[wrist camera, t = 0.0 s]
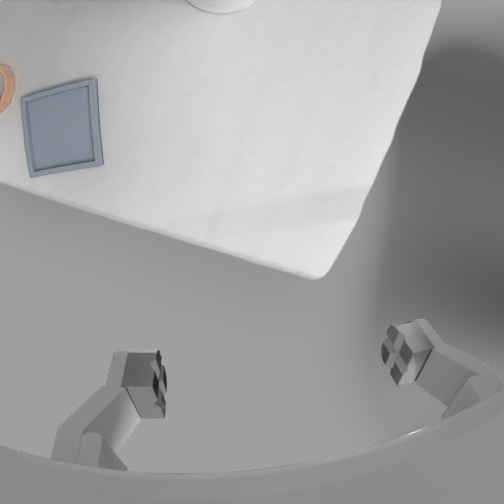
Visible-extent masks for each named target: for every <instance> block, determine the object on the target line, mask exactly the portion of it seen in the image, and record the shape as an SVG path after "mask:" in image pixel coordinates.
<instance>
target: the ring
mask: <svg viewBox="0 0 504 504" xmlns="http://www.w3.org/2000/svg"><path fill="white" fill-rule="evenodd" d="M0 73H1V74H2V76H3V78H4V91H3V94H2V97H1V100H0V113H2V112H3V111H4V110H5V108H6V107H7V106H8V105H9V104H10V102H11V99H12V96H13V93H14V91H15V76H14V74H13V72H12V70H11V69H10V67H9V66H6V65H2V64H0Z"/></svg>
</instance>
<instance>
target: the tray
mask: <svg viewBox="0 0 504 504" xmlns="http://www.w3.org/2000/svg"><path fill="white" fill-rule="evenodd" d="M21 107H22V119H23V130H24V139H25V147H26V154H27V160H28V167H29V173H30V178H32V177H37V176H43V175H48V174H53V173H59V172H65V171H71V170H77V169H83V168H90V167H97V166H101V165H103V164H104V161H103V152H102V143H101V133H100V121H99V106H98V86H97V79H90V80H85V81H81V82H77V83H73V84H69V85H65V86H61V87H57V88H53V89H50V90H46V91H43V92H40V93H36V94H33V95H30V96H27V97H24V98H21Z"/></svg>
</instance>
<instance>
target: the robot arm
mask: <svg viewBox="0 0 504 504" xmlns="http://www.w3.org/2000/svg"><path fill="white" fill-rule="evenodd" d="M187 1H188V2H189V3H190V4H192V5H193V6H195V7H196V8H198V9H200V10H203V11H206V12H210V13H231V12H236V11H239V10H241V9H244V8H246V7H248V6H249V5H251V4H252V3H253V2H254V1H256V0H187ZM387 335H388V338H387V339H386V340H385V341H384V342H383V344H382V347H381V356H382V359H383V361H384V363H385V365H386V366H388V367H389V368H391V373H390V374H391V376H392V378H393V380H394V382H395V383H396V385H397V386H400V385H404V384H408V383H411V382H415V381H416V382H415V383H416V384H418V385H419V386H420V387H422V388H423V389H424V390H426V391H427V392H428V393H430V394H431V395H433V396H434V397H435V398H436V399H438V400H439V401H441V402H442V403H443V404H445V405H446V406H447V407H448V408H447V409H446V411H445V412H444V413H443V415H442V421H439V422H437V423H435V424H432V425H430V426H428V427H425V428H422V429H420V430H417V431H415V432H412V433H409V434H407V435H404V436H401V437H398V438H395V439H392V440H389V441H386V442H383V443H380V444H377V445H373V446H370V447H366V448H363V449H359V450H355V451H352V452H348V453H344V454H340V455H336V456H332V457H327V458H323V459H318V460H313V461H308V462H302V463H297V464H291V465H285V466H278V467H271V468H263V469H255V470H244V471H232V472H217V473H151V472H136V471H127V467H126V466H125V465H124V464H123V462H122V461H121V460H120V459H119V458H118V457H117V455H116V453H117V452H118V450H119V449H120V448H121V446H122V445H123V444H124V442H125V441H126V440H127V438H128V437H129V436H130V434H131V433H132V432H133V430H134V429H135V427H136V426H137V425H138V423H139V422H140V421H141V418H165V408H166V401H165V399H164V394H165V393H166V392H167V377H166V372H165V368H164V366H163V365H162V364H161V359H162V357H161V354H160V351H159V350H118V349H117V350H116V351H115V352H114V354H113V358H112V362H111V366H110V369H109V373H108V377H107V382H106V386H101V387H100V388H99V389H98V390H97V391H96V392H95V393H94V394H93V395H92V396H91V397H90V398H88V399H87V400H86V401H85V402H84V403H83V404H82V405H81V406H80V407H79V408H78V409H77V410H76V411H75V412H74V413H73V414H71V416H69V417H68V418H67V419H66V420H65V421H64V422H63V423H62V424H61V425H60V426H59V427H58V430H57V434H56V438H55V442H54V446H53V451H52V455H51V459H49V458H45V457H41V456H37V455H33V454H29V453H26V452H22V451H18V450H15V449H12V448H9V447H6V446H3V445H0V504H504V383H503V381H502V380H501V378H500V377H499V376H498V374H497V373H496V372H495V370H494V369H493V368H492V367H491V366H489V365H488V364H485V363H483V362H482V361H480V360H478V359H475V358H474V357H472V356H470V355H468V354H466V353H464V352H462V351H460V350H458V349H456V348H454V347H452V346H450V345H448V344H447V345H445V344H444V343H443V341H442V340H441V339H440V337H439V336H438V335H437V333H436V332H435V331H434V330H433V328H432V327H431V326H430V324H429V323H428V322H427V321H426V320H425V319H418V320H414V321H409V322H404V323H399V324H395V325H391V326H390V327H389V328H388V330H387Z"/></svg>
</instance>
